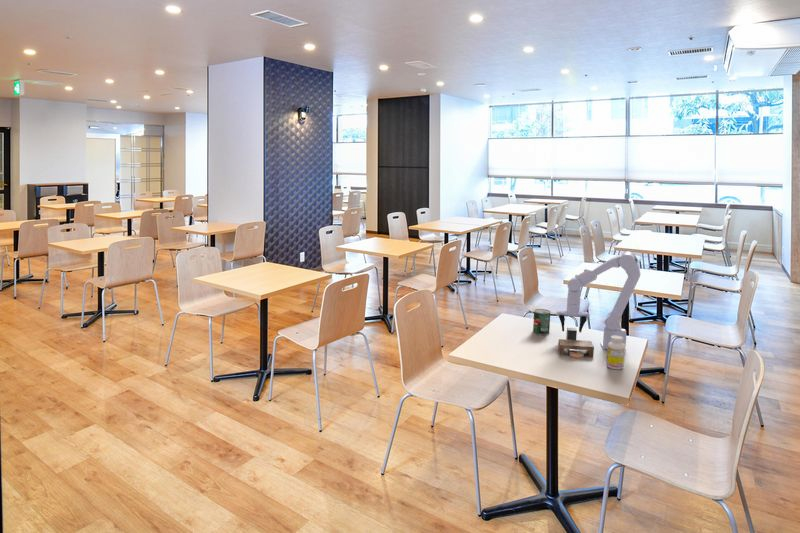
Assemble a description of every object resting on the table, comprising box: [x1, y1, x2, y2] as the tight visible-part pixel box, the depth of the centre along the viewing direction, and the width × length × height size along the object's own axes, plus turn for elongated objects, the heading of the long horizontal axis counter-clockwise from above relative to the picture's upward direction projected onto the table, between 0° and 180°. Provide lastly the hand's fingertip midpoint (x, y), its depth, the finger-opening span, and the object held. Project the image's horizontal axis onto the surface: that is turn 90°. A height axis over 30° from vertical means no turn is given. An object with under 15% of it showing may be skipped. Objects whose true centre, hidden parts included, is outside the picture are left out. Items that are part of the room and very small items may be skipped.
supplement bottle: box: [606, 335, 626, 370], centre depth 224 cm, size 7×7×13 cm
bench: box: [557, 338, 595, 358], centre depth 241 cm, size 14×8×5 cm, turn 79°
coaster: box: [568, 350, 585, 359], centre depth 238 cm, size 6×6×2 cm
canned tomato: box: [532, 308, 552, 336], centre depth 269 cm, size 8×8×11 cm
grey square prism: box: [565, 327, 582, 353], centre depth 250 cm, size 5×17×6 cm, turn 170°
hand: (571, 331), depth 256 cm, fingers open, 7 cm apart
